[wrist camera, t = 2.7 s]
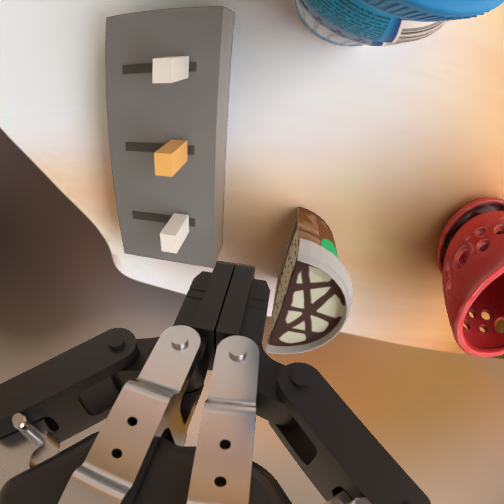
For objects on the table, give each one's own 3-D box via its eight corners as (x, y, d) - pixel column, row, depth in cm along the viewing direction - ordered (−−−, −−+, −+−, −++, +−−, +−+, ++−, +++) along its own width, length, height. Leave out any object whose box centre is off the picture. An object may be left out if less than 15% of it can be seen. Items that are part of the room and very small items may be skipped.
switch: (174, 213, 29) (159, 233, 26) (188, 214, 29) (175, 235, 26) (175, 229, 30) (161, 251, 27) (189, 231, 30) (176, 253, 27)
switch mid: (171, 139, 25) (154, 152, 22) (187, 140, 25) (171, 154, 22) (171, 159, 26) (155, 175, 23) (187, 160, 26) (172, 176, 23)
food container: (324, 298, 38) (325, 367, 30) (274, 287, 38) (264, 355, 30) (361, 208, 31) (379, 272, 22) (301, 193, 31) (299, 253, 23)
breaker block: (126, 19, 22) (102, 17, 19) (234, 12, 21) (223, 6, 18) (137, 233, 36) (121, 253, 33) (222, 245, 36) (213, 268, 32)
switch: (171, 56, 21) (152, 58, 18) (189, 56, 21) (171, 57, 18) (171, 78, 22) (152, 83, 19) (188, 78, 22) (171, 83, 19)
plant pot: (491, 161, 25) (557, 221, 15) (529, 240, 28) (575, 307, 19) (401, 237, 32) (431, 320, 22) (454, 300, 35) (481, 376, 25)
